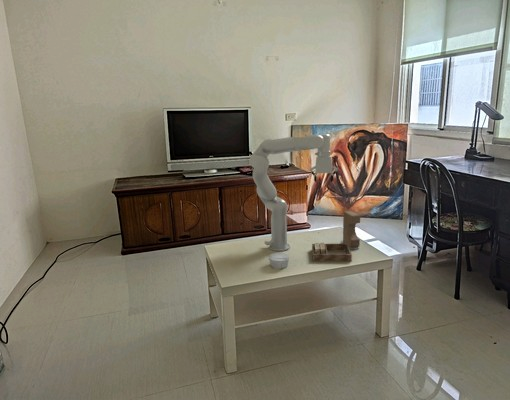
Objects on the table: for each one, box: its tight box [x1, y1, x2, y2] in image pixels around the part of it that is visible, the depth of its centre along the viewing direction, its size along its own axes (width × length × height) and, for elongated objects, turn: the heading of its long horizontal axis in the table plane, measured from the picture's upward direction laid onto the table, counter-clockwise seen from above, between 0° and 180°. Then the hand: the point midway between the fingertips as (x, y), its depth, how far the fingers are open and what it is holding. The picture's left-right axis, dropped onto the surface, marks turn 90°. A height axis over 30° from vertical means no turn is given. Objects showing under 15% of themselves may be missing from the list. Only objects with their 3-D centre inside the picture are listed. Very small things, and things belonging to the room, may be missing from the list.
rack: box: [311, 243, 353, 262], centre depth 207 cm, size 21×17×4 cm
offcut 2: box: [319, 242, 325, 254], centre depth 207 cm, size 2×10×6 cm, turn 174°
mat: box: [340, 240, 359, 250], centre depth 221 cm, size 9×13×1 cm
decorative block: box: [342, 210, 361, 248], centre depth 219 cm, size 11×6×20 cm, turn 14°
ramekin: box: [268, 252, 290, 270], centre depth 197 cm, size 11×11×5 cm
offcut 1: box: [314, 242, 320, 254], centre depth 208 cm, size 2×10×6 cm, turn 174°
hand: (323, 181), depth 224 cm, fingers open, 9 cm apart
